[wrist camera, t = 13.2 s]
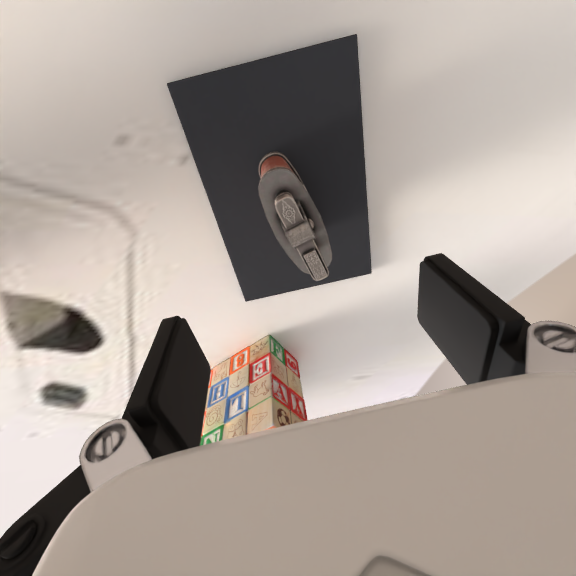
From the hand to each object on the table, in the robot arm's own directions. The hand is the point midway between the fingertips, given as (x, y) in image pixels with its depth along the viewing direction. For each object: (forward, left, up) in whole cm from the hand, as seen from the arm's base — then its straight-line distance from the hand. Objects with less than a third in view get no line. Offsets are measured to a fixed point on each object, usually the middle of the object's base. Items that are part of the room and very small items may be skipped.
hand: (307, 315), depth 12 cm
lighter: (+1, 0, -18) cm, 18 cm away
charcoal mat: (+1, 0, -18) cm, 18 cm away
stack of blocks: (-13, -23, -18) cm, 32 cm away
